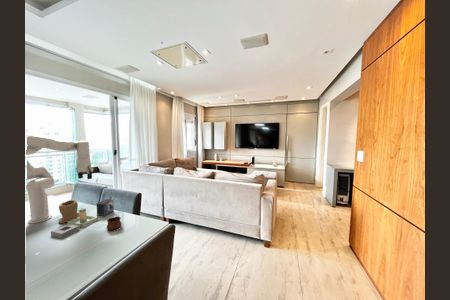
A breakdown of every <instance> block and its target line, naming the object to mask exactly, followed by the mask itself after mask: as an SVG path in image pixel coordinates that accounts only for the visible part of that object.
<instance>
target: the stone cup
mask: <svg viewBox="0 0 450 300" xmlns="http://www.w3.org/2000/svg"><path fill="white" fill-rule="evenodd" d="M78 208H79V204H78V202H77V200H75V199H70V200H66V201H63V202H61V203H60V204H59V205H58V210H59V213H60V214H61V216H62V217H60V218H59V219H58V223H60V224H64V223H67V222H68V221H71V220H73V219H75V218H78V217H80V215H79V212H78Z"/></svg>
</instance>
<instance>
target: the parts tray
mask: <svg viewBox="0 0 450 300" xmlns="http://www.w3.org/2000/svg"><path fill="white" fill-rule="evenodd" d="M86 218H87V221H86V222H84V223H80V217H78V218H75V219H73V220H71V221H68V222H66V223H67V224H66V225H68V224H71V225H77V226H79V228H84V227H86V226H88V225H91V224H92V223H94V222H97V221H99V216H97V215H89V214H86Z"/></svg>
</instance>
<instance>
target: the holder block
mask: <svg viewBox="0 0 450 300" xmlns="http://www.w3.org/2000/svg"><path fill="white" fill-rule="evenodd" d="M78 231H80V227H79V226H77V225H71V224H66V225H63V226H61V227H57V229H54V230H51V231H50V236H51V237H53V238H59V239H63V238H66V237H68V236H70V235H72V234H74V233H77V232H78Z"/></svg>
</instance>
